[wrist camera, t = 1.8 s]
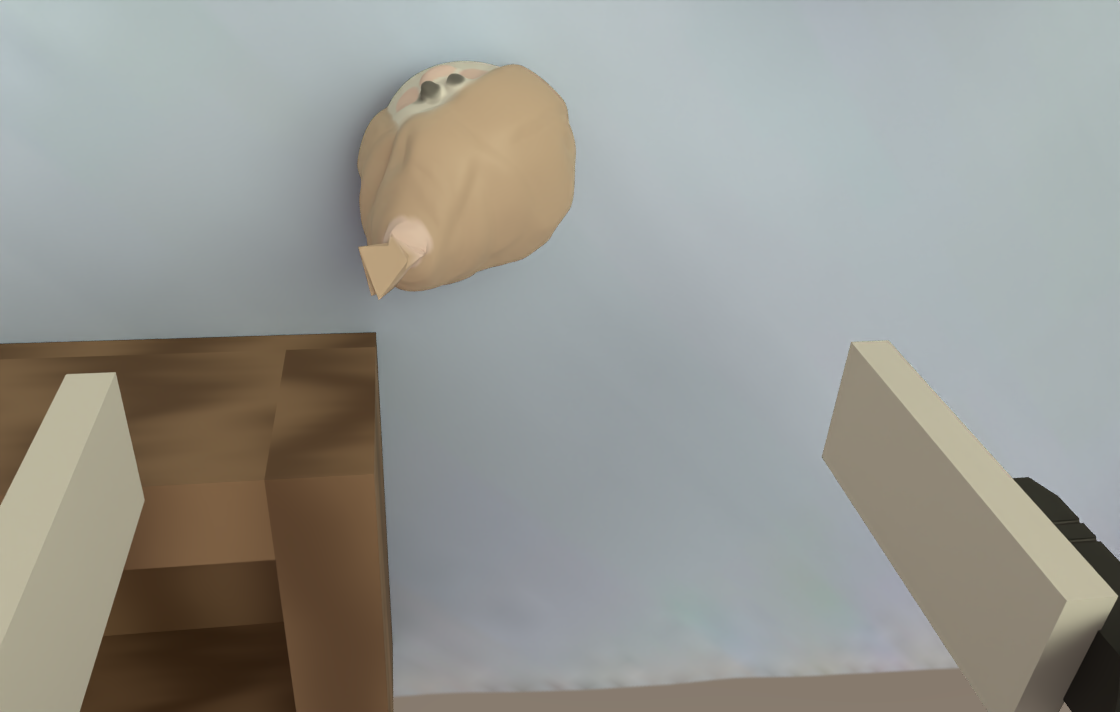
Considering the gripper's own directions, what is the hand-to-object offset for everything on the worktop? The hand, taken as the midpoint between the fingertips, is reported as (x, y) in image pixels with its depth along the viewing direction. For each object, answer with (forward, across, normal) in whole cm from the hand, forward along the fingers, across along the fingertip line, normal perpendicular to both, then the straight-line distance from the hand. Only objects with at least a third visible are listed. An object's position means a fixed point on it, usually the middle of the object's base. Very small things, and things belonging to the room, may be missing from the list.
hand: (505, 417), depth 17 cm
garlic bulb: (+16, 0, 0) cm, 16 cm away
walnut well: (+16, +11, +15) cm, 24 cm away
